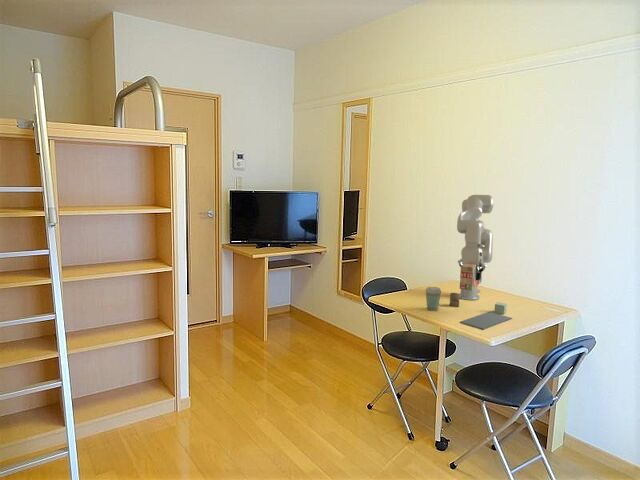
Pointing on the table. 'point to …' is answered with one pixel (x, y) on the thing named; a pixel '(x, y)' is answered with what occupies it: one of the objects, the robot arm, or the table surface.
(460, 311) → the table surface
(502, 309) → the sage cube
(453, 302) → the walnut cylinder
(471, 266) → the stack of blocks
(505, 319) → the charcoal mat
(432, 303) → the coffee cup
